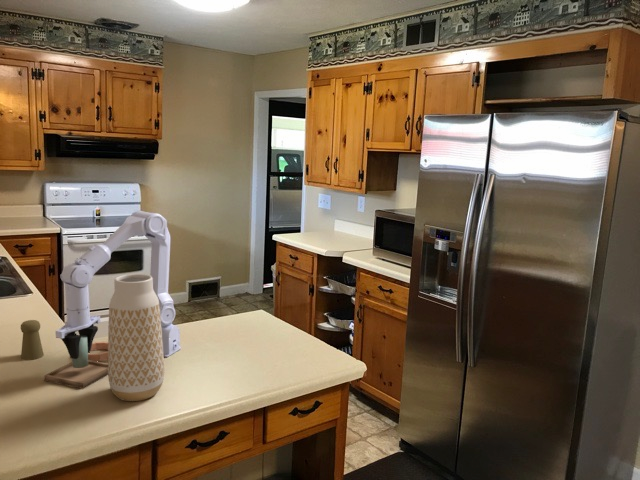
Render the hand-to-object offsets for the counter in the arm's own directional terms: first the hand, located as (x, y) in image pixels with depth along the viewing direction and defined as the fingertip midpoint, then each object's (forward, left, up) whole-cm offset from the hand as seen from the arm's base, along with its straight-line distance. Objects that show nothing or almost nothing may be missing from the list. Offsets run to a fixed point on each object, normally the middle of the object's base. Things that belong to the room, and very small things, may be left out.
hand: (80, 355), depth 149 cm
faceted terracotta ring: (+6, -14, -6) cm, 16 cm away
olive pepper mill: (+23, -6, -6) cm, 24 cm away
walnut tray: (0, 0, -6) cm, 6 cm away
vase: (-21, +3, -6) cm, 22 cm away
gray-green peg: (0, 0, -3) cm, 3 cm away
